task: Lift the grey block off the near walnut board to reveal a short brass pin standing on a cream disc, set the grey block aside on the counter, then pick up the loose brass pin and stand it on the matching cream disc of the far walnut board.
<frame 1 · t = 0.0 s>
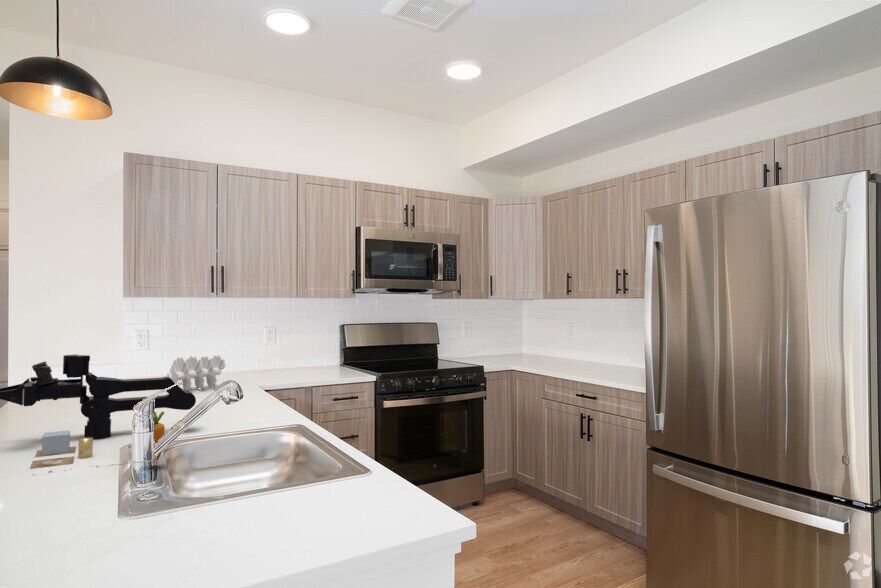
carrot: (152, 468, 138), on the counter
build board: (52, 466, 138), on the counter
pin: (85, 460, 143), on the counter
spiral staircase: (194, 391, 264), on the counter
grey block: (56, 451, 148), point 1 cm above the counter, touching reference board
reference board: (55, 455, 148), on the counter
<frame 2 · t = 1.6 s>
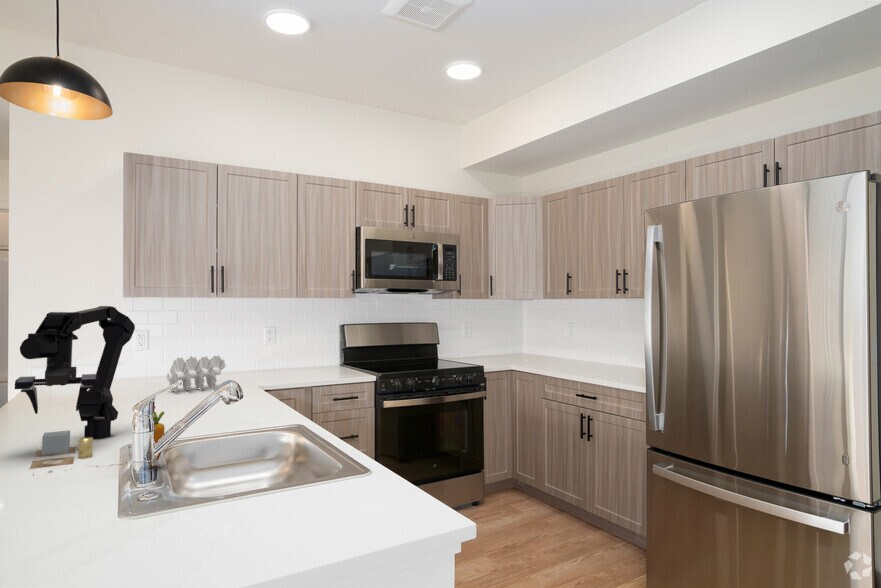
hand: (57, 412, 148), 12 cm above the counter, tool pointing down, fingers open, 9 cm apart
nothing on the counter moved.
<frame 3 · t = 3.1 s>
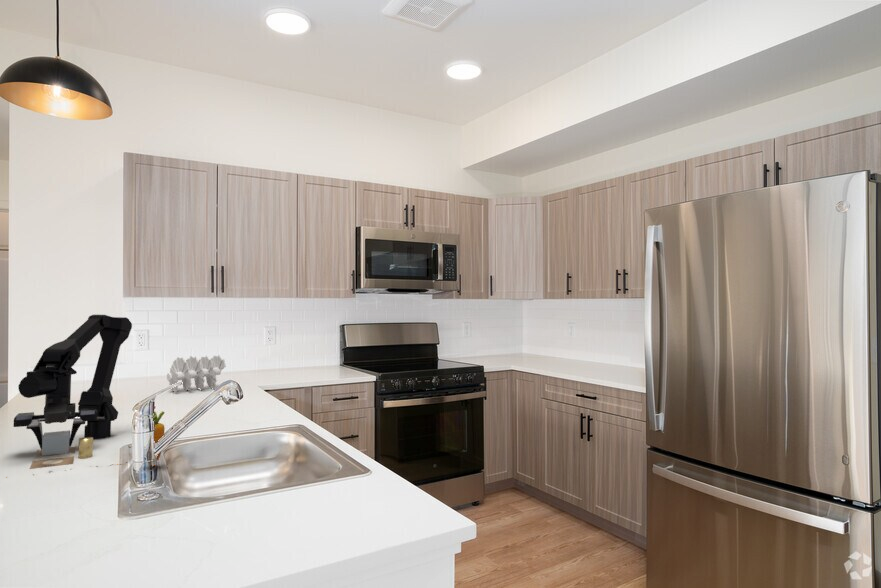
hand: (56, 447, 148), 2 cm above the counter, tool pointing down, fingers closed on grey block, 6 cm apart
grey block: (56, 451, 148), point 1 cm above the counter, touching gripper, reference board
everything else where it was.
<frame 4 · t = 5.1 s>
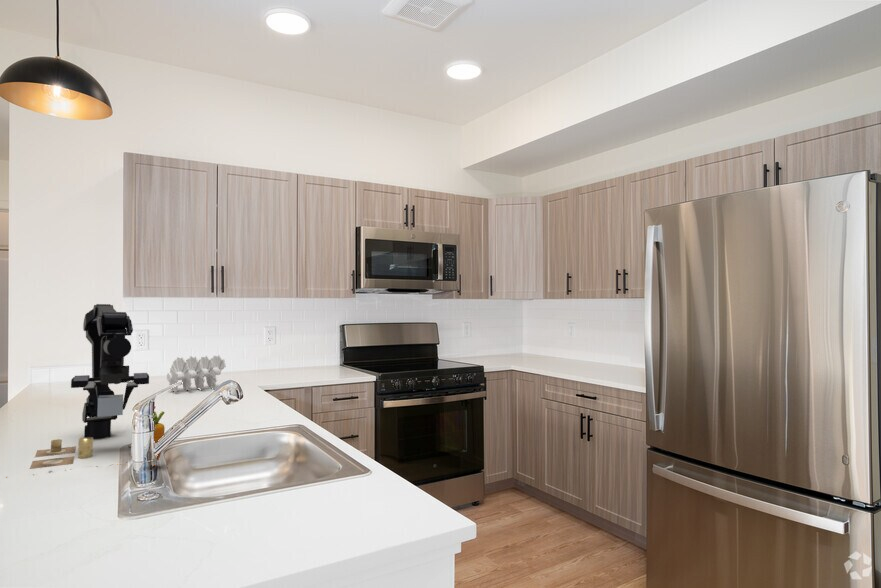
hand: (110, 410, 151), 12 cm above the counter, tool pointing down, fingers closed on grey block, 6 cm apart
grey block: (110, 414, 150), point 11 cm above the counter, touching gripper
everything else where it was.
when the fingers open (2 cm above the counter, at t = 7.3 s): grey block drops 1 cm, on the counter.
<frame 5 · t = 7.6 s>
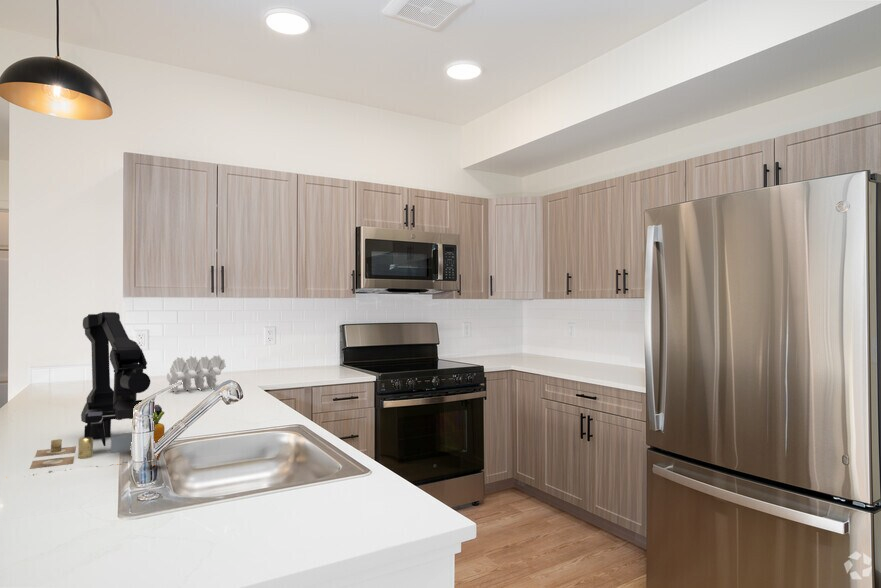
hand: (123, 443, 151), 3 cm above the counter, tool pointing down, fingers open, 9 cm apart
grey block: (123, 452, 151), on the counter
everything else where it was.
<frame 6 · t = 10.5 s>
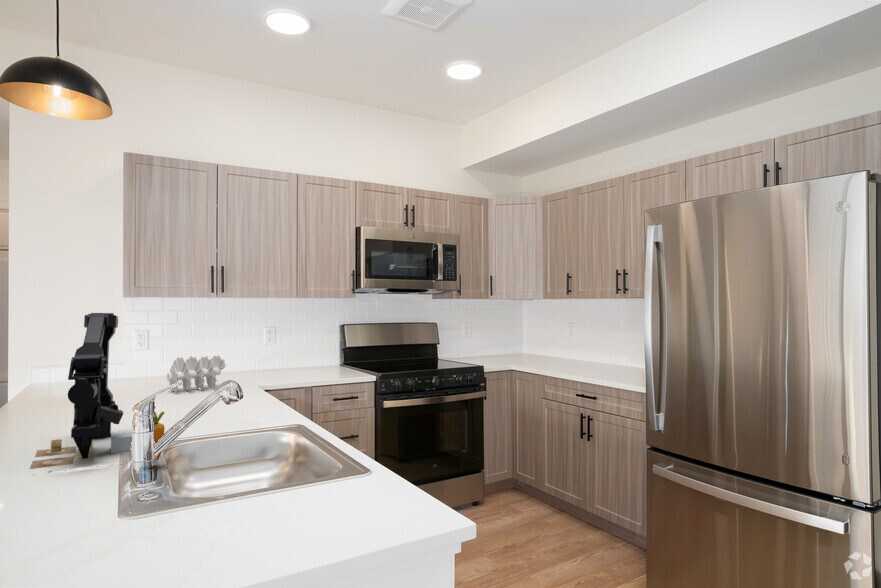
hand: (85, 456, 143), 1 cm above the counter, tool pointing down, fingers closed on pin, 3 cm apart
pin: (85, 460, 143), on the counter, touching gripper
everything else where it was.
when the fingers open (3 cm above the counter, at t = 13.9 s): pin drops 1 cm, resting on build board.
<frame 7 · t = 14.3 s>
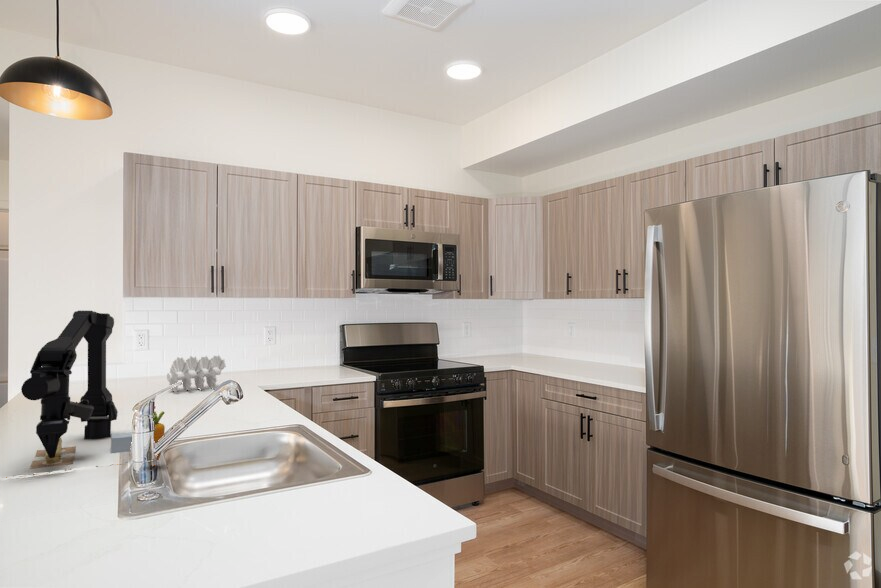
hand: (53, 453, 138), 3 cm above the counter, tool pointing down, fingers open, 8 cm apart
pin: (53, 461, 138), point 1 cm above the counter, touching build board
everything else where it was.
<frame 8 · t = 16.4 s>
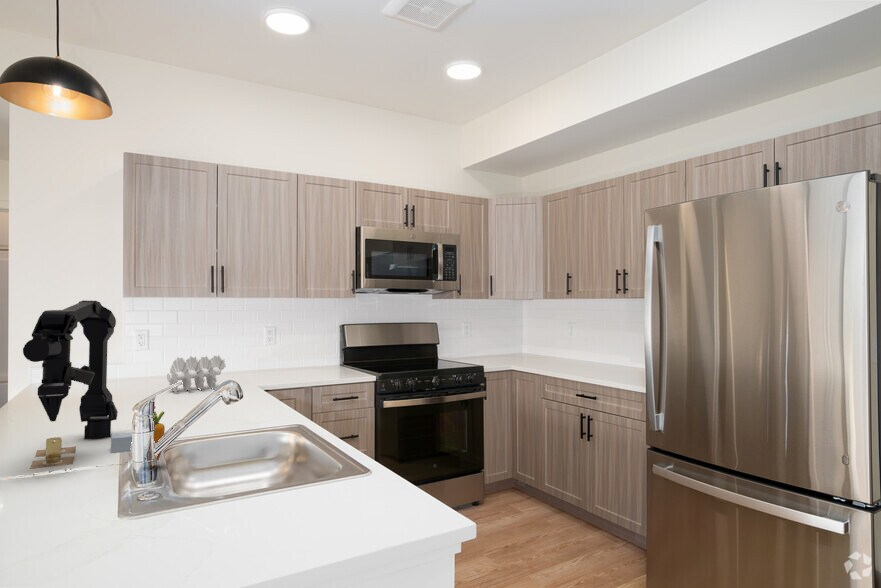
hand: (54, 418, 138), 12 cm above the counter, tool pointing down, fingers open, 9 cm apart
nothing on the counter moved.
at the end: grey block moved 17.1 cm from its start; pin 0.0 cm off-centre on the build board, point 1.1 cm above the build board's base; pin tilted 0° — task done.
